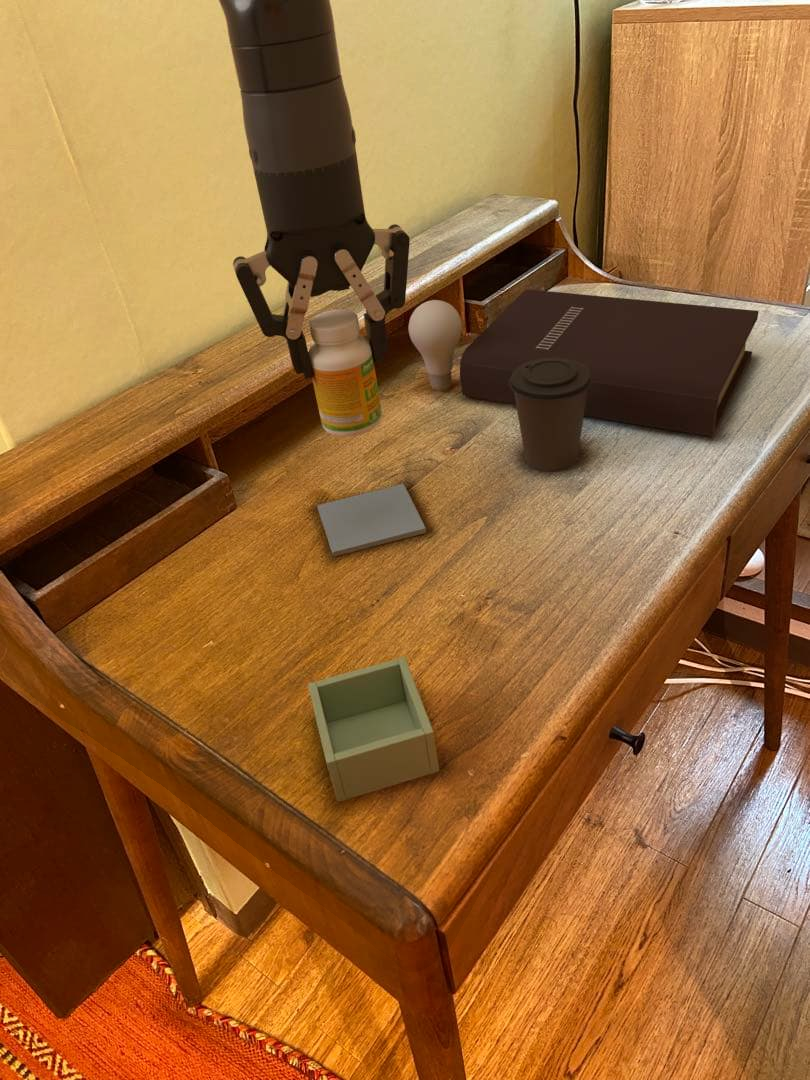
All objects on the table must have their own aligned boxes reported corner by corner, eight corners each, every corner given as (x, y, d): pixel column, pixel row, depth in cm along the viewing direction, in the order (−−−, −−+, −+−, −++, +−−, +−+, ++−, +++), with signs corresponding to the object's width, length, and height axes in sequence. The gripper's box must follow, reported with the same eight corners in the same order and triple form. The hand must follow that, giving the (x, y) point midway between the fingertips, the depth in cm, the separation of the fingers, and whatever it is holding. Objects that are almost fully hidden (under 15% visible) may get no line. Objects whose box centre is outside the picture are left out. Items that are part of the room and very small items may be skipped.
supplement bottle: (381, 435, 70) (364, 329, 64) (319, 441, 71) (296, 336, 65) (383, 404, 75) (367, 302, 69) (325, 410, 75) (304, 309, 69)
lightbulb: (440, 373, 102) (432, 287, 95) (477, 386, 98) (471, 298, 91) (405, 393, 99) (394, 306, 92) (442, 407, 95) (433, 318, 88)
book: (461, 403, 95) (457, 356, 92) (526, 332, 108) (525, 289, 104) (710, 444, 83) (717, 392, 79) (751, 359, 96) (758, 310, 92)
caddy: (337, 802, 55) (326, 763, 53) (318, 722, 61) (307, 683, 58) (439, 771, 56) (433, 731, 54) (411, 695, 62) (404, 655, 59)
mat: (333, 557, 76) (332, 552, 76) (318, 509, 82) (317, 505, 82) (426, 532, 77) (425, 527, 77) (404, 488, 83) (403, 483, 83)
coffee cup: (504, 442, 88) (500, 356, 82) (579, 431, 88) (581, 344, 82) (520, 484, 81) (516, 395, 75) (600, 472, 81) (604, 381, 75)
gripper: (387, 124, 63) (411, 332, 73) (200, 160, 61) (253, 367, 71) (413, 144, 57) (435, 366, 67) (208, 184, 55) (264, 406, 65)
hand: (341, 366), depth 69 cm, fingers closed on supplement bottle, 5 cm apart
